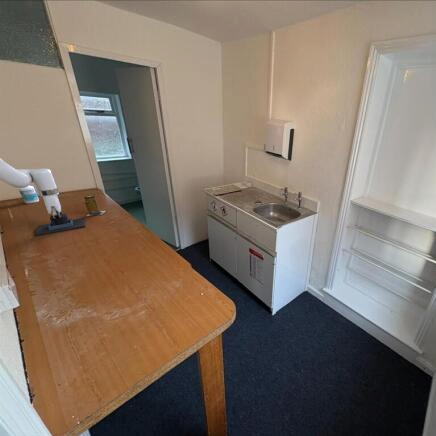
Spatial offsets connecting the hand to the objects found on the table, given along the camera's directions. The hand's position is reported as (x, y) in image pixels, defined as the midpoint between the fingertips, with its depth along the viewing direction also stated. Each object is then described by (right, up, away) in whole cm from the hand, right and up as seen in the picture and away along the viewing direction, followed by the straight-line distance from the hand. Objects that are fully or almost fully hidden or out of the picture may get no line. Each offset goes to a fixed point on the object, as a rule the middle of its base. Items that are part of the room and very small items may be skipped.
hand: (60, 222), depth 131 cm
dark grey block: (0, 0, 0) cm, 0 cm away
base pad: (0, -3, +1) cm, 3 cm away
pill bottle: (-54, +14, +34) cm, 66 cm away
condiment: (+3, +5, +20) cm, 21 cm away
